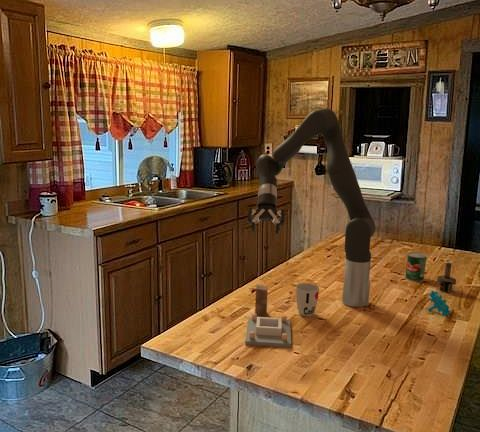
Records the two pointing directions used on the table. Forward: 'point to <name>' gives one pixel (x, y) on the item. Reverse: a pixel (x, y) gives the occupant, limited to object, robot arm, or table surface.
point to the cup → (306, 298)
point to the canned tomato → (415, 266)
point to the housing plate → (268, 331)
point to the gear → (439, 303)
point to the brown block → (261, 300)
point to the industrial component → (446, 279)
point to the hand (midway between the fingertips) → (265, 233)
